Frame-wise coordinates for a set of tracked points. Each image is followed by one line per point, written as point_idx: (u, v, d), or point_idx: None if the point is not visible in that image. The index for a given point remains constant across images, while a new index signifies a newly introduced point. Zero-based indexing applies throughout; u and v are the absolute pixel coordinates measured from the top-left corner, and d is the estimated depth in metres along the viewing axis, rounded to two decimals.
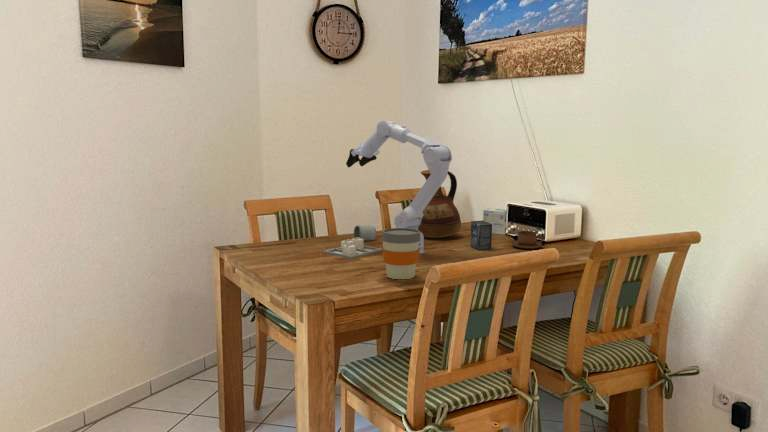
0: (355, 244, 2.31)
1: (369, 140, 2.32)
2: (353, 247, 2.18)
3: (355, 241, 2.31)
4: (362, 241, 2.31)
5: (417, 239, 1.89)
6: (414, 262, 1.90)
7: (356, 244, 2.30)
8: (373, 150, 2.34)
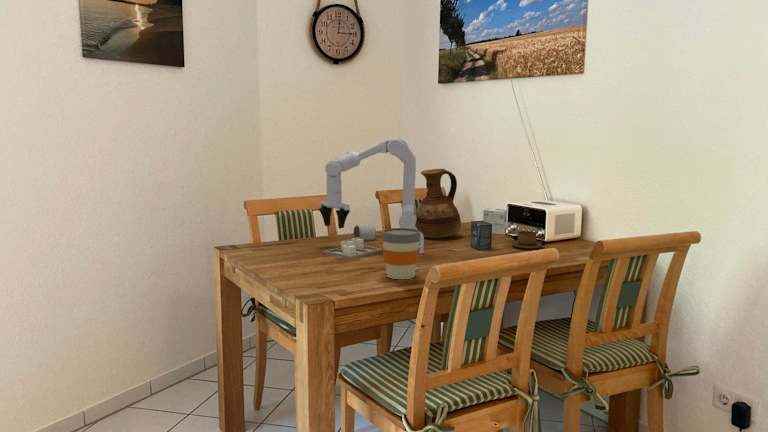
0: (355, 244, 2.31)
1: (330, 189, 2.26)
2: (353, 247, 2.18)
3: (355, 241, 2.31)
4: (362, 241, 2.31)
5: (417, 239, 1.89)
6: (414, 262, 1.90)
7: (356, 244, 2.30)
8: None
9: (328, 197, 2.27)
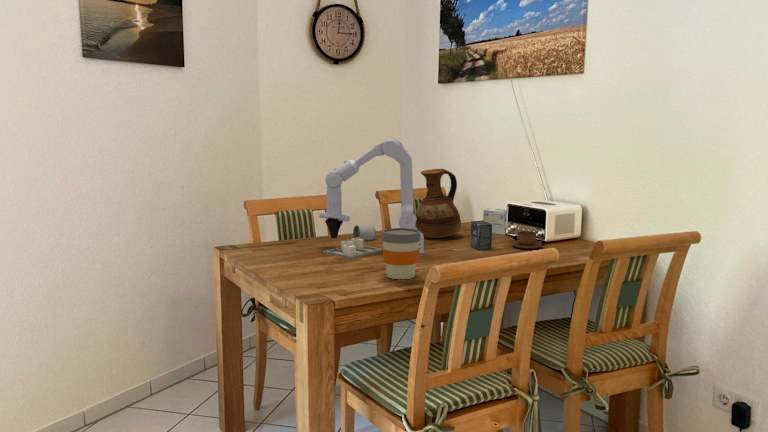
0: (355, 244, 2.31)
1: (330, 201, 2.27)
2: (353, 247, 2.18)
3: (355, 241, 2.31)
4: (362, 241, 2.31)
5: (417, 239, 1.89)
6: (414, 262, 1.90)
7: (356, 244, 2.30)
8: None
9: (328, 208, 2.28)
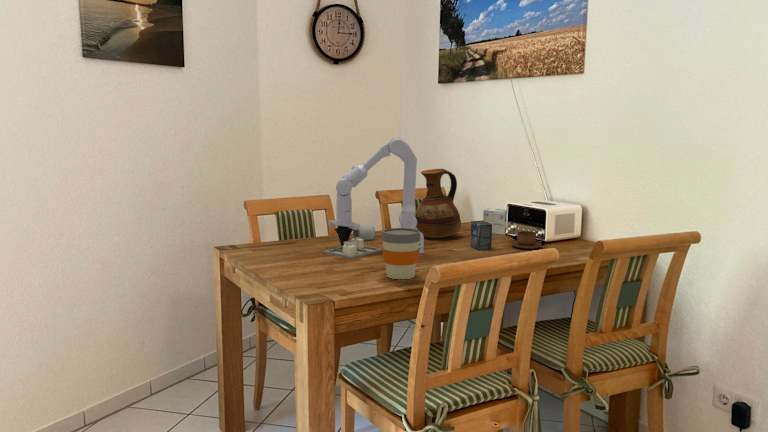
0: None
1: (341, 209, 2.24)
2: (353, 247, 2.18)
3: (355, 241, 2.31)
4: (362, 241, 2.31)
5: (417, 239, 1.89)
6: (414, 262, 1.90)
7: None
8: None
9: (338, 216, 2.25)
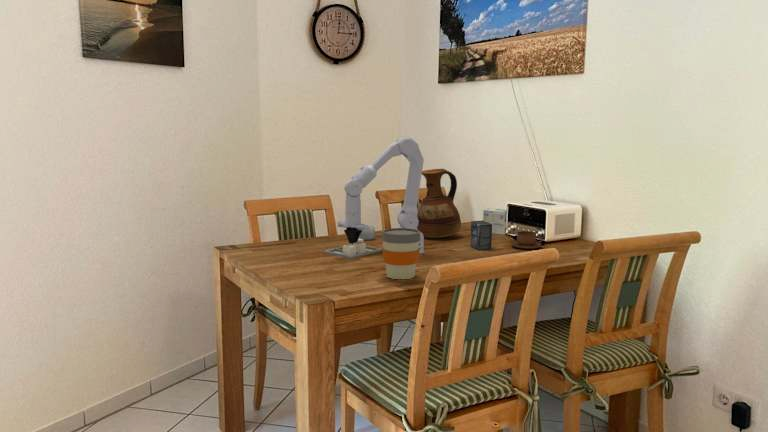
0: None
1: (351, 210, 2.21)
2: (353, 247, 2.18)
3: None
4: (362, 241, 2.31)
5: (417, 239, 1.89)
6: (414, 262, 1.90)
7: None
8: None
9: (347, 218, 2.22)
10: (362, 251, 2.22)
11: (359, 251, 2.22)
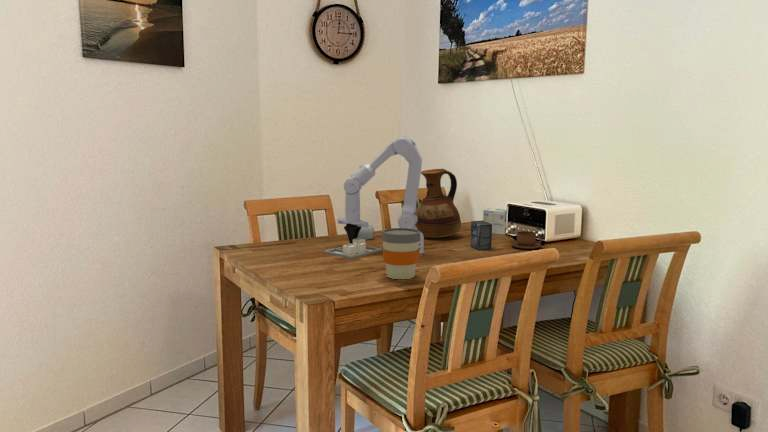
0: None
1: (349, 207, 2.29)
2: (353, 247, 2.18)
3: (357, 241, 2.30)
4: (364, 241, 2.31)
5: (417, 239, 1.89)
6: (414, 262, 1.90)
7: None
8: None
9: (347, 214, 2.30)
10: (362, 251, 2.22)
11: (359, 251, 2.22)
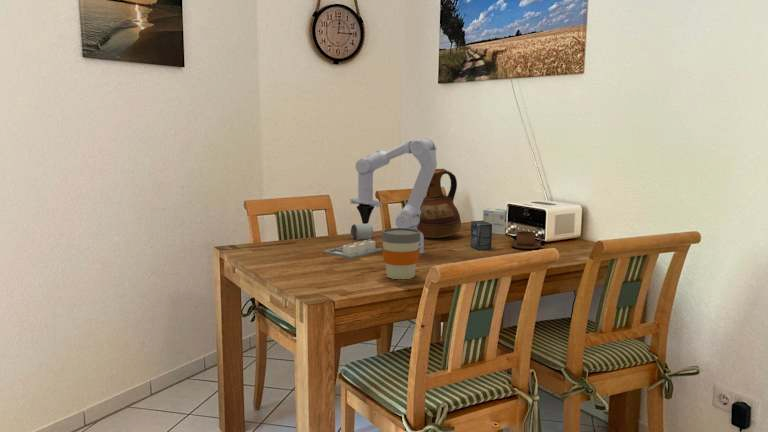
0: (367, 246, 2.27)
1: (360, 187, 2.32)
2: (353, 247, 2.18)
3: (367, 243, 2.27)
4: (374, 243, 2.27)
5: (417, 239, 1.89)
6: (414, 262, 1.90)
7: (368, 246, 2.27)
8: None
9: (360, 194, 2.33)
10: (362, 251, 2.22)
11: (359, 251, 2.22)
